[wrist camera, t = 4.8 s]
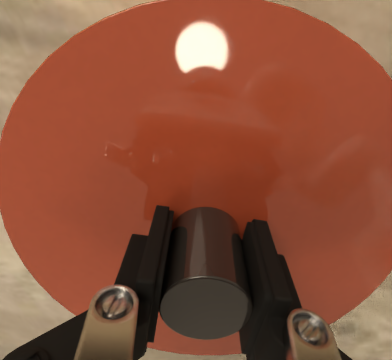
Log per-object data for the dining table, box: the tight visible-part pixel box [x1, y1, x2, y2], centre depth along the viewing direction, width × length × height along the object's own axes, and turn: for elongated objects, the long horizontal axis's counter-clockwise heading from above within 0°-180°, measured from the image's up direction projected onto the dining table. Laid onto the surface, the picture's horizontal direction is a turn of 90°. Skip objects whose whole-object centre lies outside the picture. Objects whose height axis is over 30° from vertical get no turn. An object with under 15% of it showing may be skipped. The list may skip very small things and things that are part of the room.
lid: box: [0, 0, 392, 355], centre depth 11 cm, size 18×18×5 cm
